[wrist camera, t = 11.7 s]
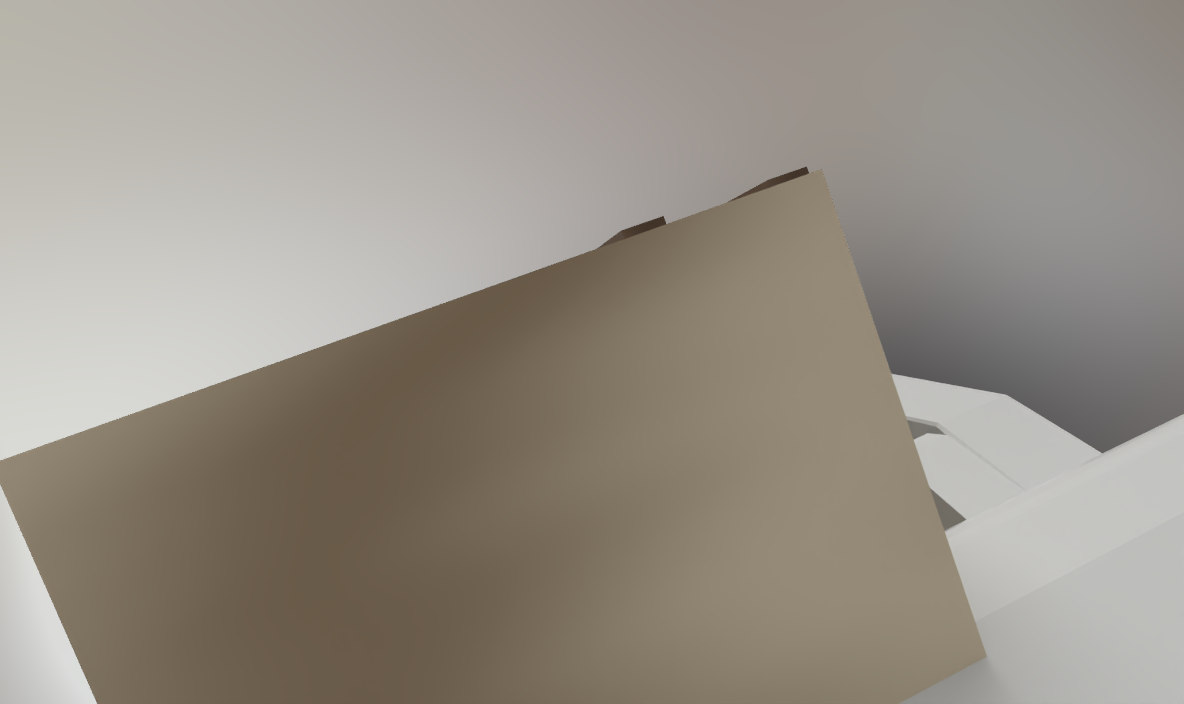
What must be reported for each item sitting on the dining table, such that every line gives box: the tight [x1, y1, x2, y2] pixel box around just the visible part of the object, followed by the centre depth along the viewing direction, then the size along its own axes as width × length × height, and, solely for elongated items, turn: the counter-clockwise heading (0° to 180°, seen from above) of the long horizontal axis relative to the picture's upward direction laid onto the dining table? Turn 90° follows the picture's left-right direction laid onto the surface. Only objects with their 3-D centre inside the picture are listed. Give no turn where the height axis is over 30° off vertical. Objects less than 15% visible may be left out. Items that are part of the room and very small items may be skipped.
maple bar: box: [0, 169, 987, 704], centre depth 15 cm, size 4×24×4 cm, turn 11°
